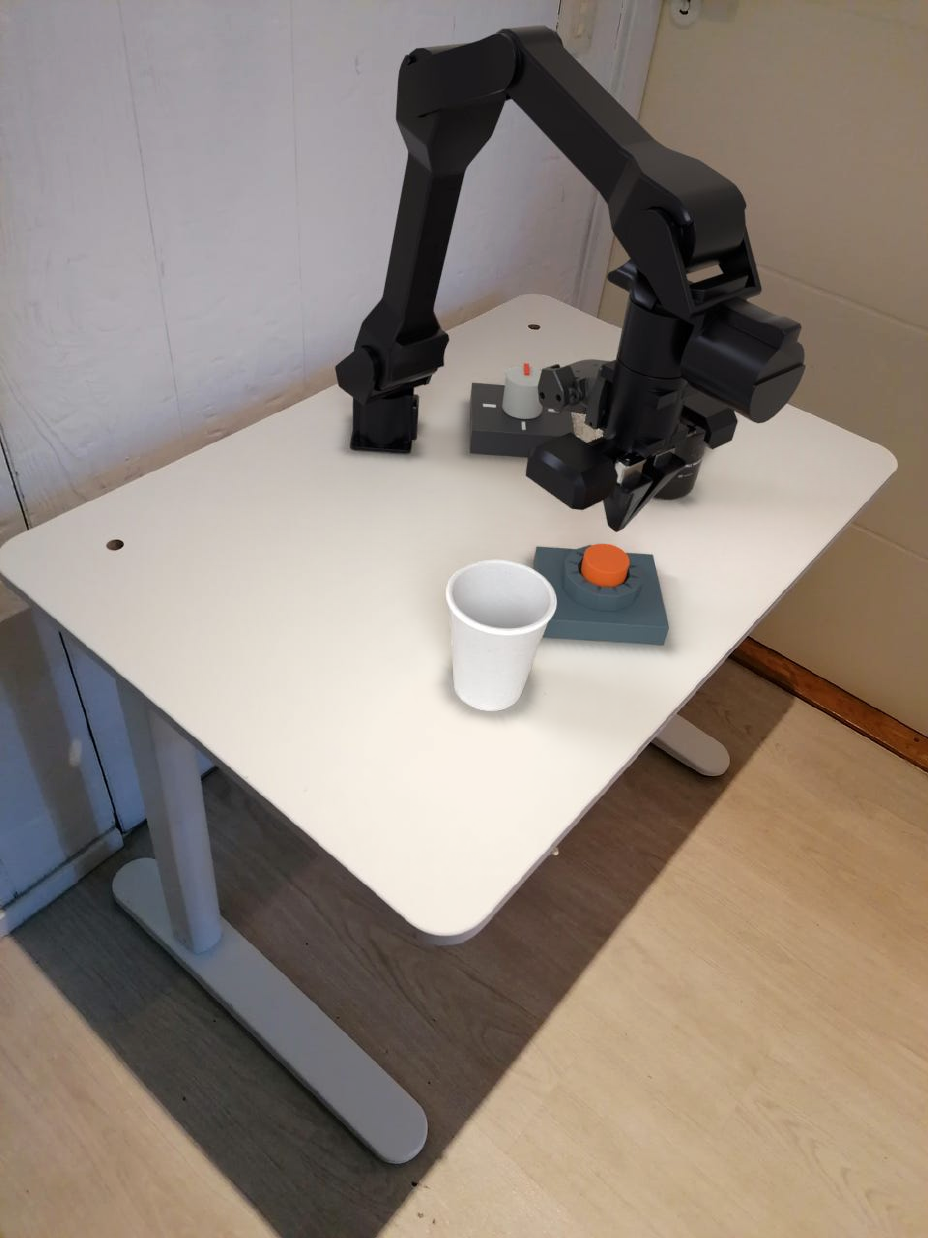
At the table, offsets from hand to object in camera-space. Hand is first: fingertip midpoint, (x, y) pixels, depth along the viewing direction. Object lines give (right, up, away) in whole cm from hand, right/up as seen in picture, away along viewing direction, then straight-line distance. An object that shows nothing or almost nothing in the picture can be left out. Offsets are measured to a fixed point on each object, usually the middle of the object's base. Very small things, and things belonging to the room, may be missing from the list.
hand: (615, 528), depth 82 cm
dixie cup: (-11, -13, -3) cm, 17 cm away
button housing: (-1, -6, +6) cm, 9 cm away
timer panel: (-7, +13, +26) cm, 30 cm away
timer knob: (-6, +15, +24) cm, 29 cm away
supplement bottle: (+8, +7, +21) cm, 24 cm away
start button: (-1, -4, +3) cm, 5 cm away
